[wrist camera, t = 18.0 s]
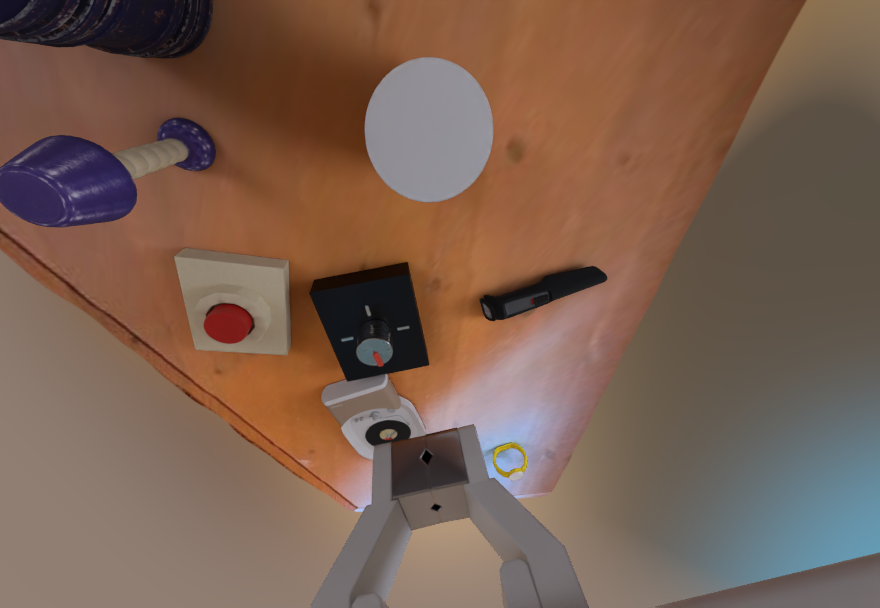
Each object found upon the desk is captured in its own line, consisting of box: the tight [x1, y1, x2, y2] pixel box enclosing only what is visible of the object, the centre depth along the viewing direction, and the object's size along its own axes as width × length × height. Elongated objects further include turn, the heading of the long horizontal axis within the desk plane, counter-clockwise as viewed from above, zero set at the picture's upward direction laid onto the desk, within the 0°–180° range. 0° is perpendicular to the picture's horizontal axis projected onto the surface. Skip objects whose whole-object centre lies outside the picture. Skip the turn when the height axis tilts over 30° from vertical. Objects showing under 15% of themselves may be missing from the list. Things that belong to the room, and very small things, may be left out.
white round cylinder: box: [365, 57, 493, 202], centre depth 26 cm, size 8×8×12 cm
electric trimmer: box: [479, 266, 607, 321], centre depth 42 cm, size 4×16×3 cm, turn 107°
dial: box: [356, 320, 393, 367], centre depth 38 cm, size 4×4×4 cm
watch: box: [493, 442, 527, 481], centre depth 59 cm, size 6×3×6 cm, turn 104°
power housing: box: [174, 248, 291, 355], centre depth 37 cm, size 12×10×4 cm
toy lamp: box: [0, 118, 216, 227], centre depth 23 cm, size 5×5×17 cm
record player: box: [321, 374, 426, 460], centre depth 51 cm, size 12×3×20 cm
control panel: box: [309, 262, 429, 382], centre depth 41 cm, size 14×11×3 cm
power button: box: [204, 304, 253, 344], centre depth 35 cm, size 4×4×2 cm
